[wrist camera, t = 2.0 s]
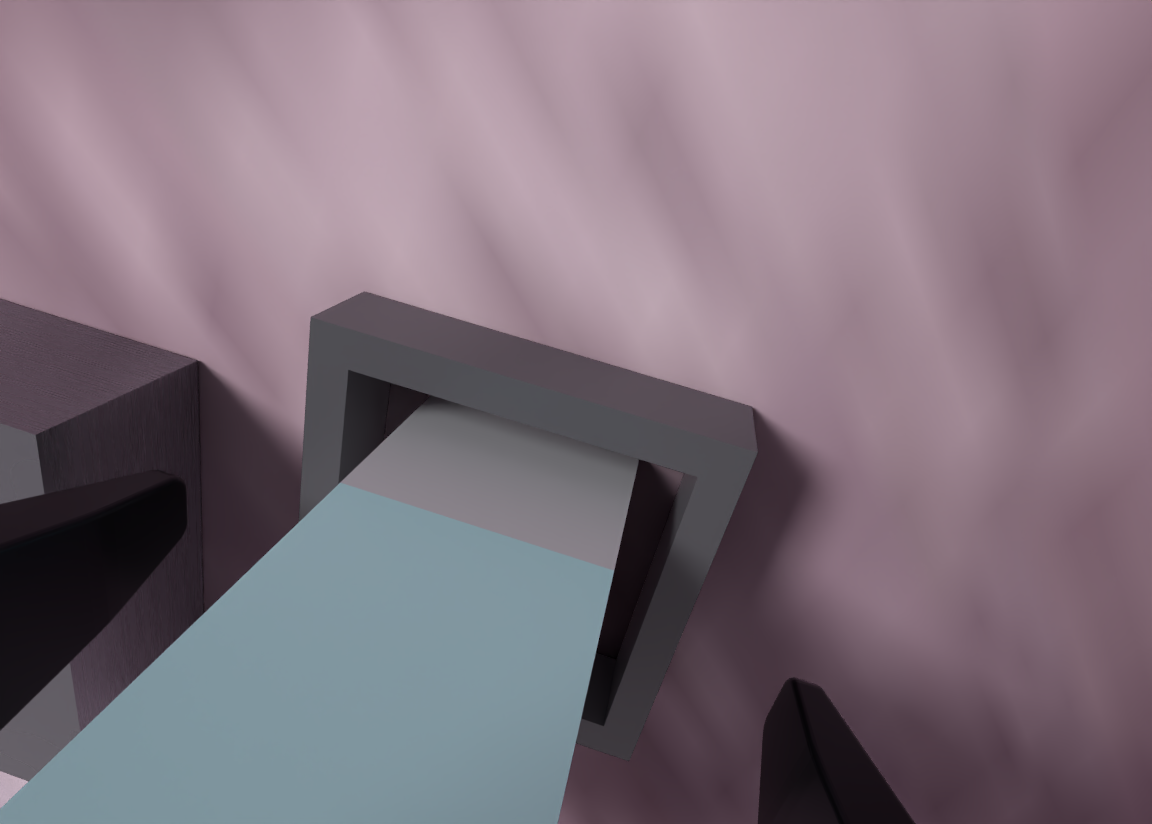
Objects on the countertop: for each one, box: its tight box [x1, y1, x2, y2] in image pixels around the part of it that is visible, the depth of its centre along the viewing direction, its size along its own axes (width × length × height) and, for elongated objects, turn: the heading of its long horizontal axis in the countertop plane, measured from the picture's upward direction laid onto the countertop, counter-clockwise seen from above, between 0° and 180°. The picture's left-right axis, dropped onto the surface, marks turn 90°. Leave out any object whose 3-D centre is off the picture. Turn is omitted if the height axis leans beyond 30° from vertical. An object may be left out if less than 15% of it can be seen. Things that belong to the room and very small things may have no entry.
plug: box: [0, 395, 639, 824], centre depth 8 cm, size 4×4×8 cm
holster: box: [299, 292, 758, 761], centre depth 11 cm, size 6×6×2 cm
